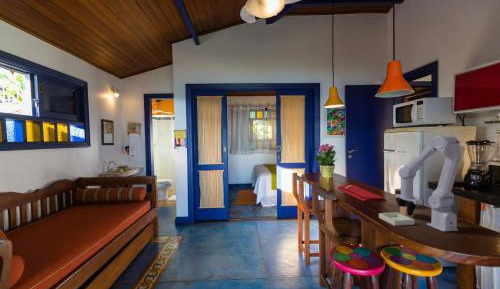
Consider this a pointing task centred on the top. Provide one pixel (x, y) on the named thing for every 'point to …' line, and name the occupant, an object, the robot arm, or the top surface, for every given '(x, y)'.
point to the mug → (398, 191)
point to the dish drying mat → (360, 193)
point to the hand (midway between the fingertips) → (406, 213)
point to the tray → (396, 219)
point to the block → (405, 211)
